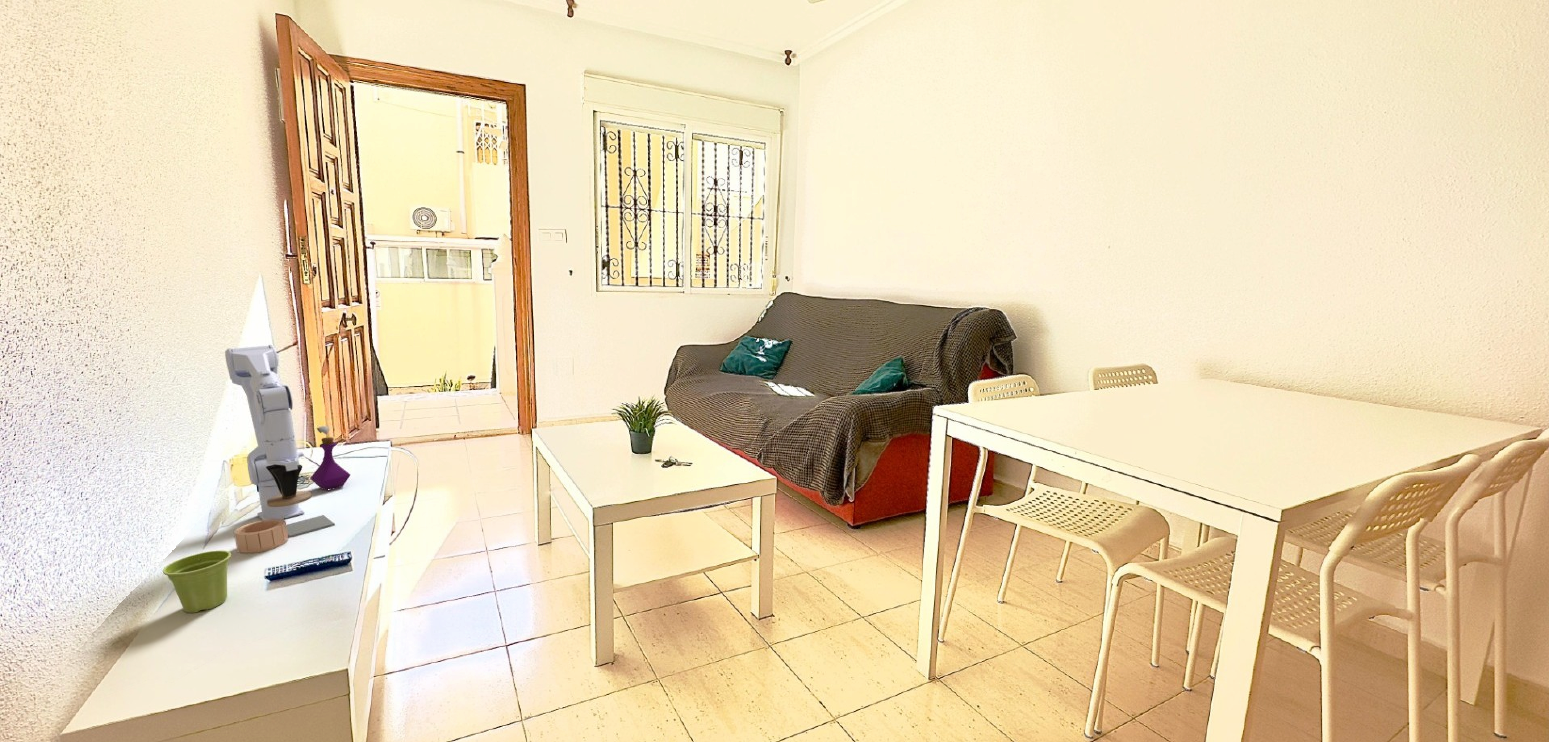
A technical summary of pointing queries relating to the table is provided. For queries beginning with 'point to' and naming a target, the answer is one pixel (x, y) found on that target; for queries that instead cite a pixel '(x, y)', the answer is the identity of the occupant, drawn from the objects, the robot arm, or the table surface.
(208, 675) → the table surface
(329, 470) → the perfume bottle
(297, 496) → the lid
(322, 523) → the mat
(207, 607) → the plant pot
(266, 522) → the peach cylinder
